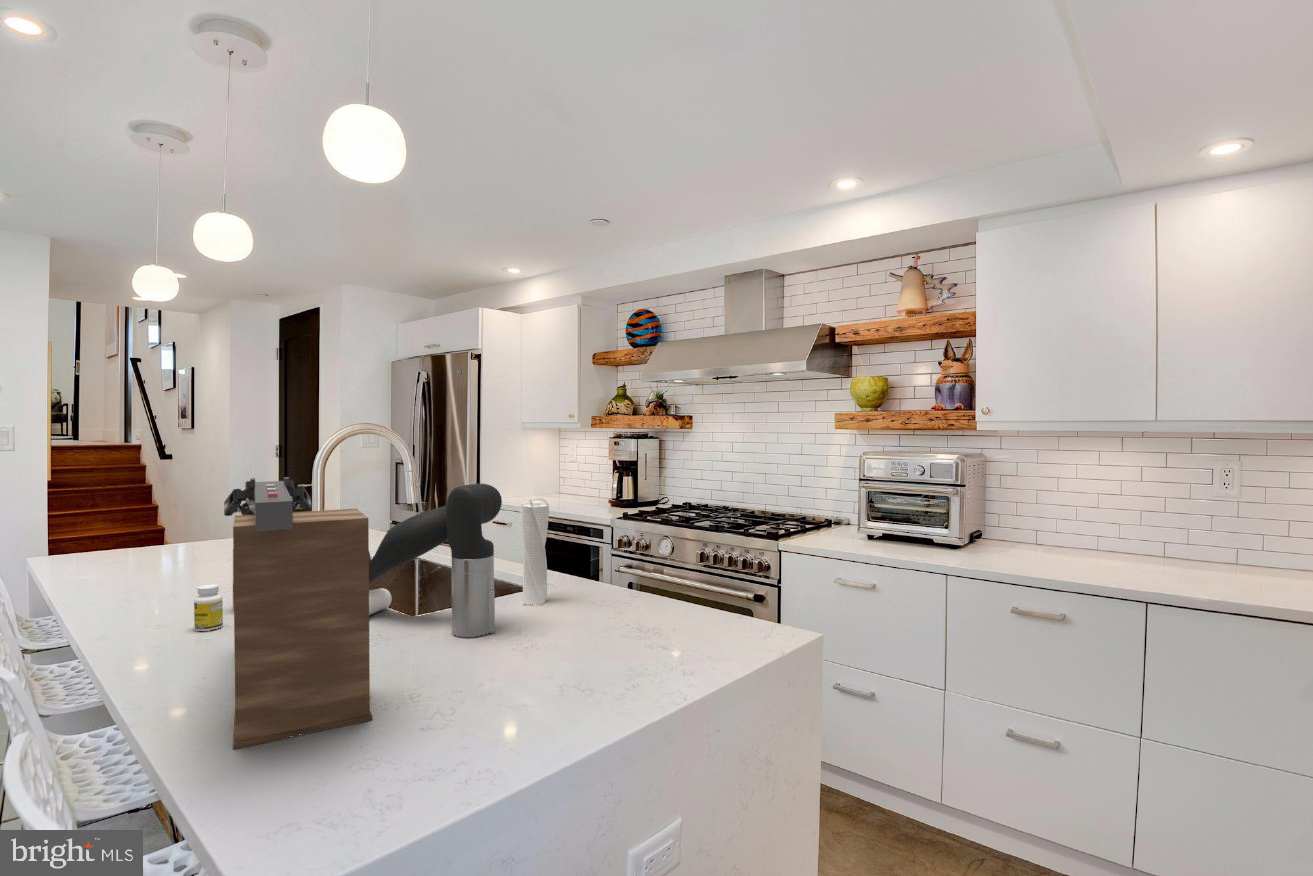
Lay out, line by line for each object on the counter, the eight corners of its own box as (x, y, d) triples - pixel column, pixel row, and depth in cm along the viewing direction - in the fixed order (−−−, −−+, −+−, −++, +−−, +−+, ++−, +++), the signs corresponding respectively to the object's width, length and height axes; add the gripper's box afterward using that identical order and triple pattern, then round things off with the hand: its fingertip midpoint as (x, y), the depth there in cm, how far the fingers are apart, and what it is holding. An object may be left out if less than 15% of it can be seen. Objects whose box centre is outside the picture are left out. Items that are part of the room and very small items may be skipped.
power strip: (254, 504, 119) (254, 479, 118) (283, 503, 121) (283, 478, 121) (255, 531, 93) (255, 499, 93) (292, 529, 95) (292, 497, 95)
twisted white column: (546, 607, 172) (546, 498, 172) (517, 606, 172) (517, 497, 172) (551, 599, 180) (551, 494, 180) (523, 598, 180) (523, 494, 180)
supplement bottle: (188, 630, 152) (188, 587, 152) (212, 624, 157) (212, 582, 157) (204, 633, 150) (204, 590, 150) (228, 626, 155) (227, 584, 155)
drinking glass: (384, 617, 170) (343, 631, 155) (367, 599, 172) (324, 611, 157) (399, 597, 169) (359, 609, 155) (382, 579, 171) (340, 589, 156)
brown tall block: (234, 712, 109) (232, 515, 108) (359, 689, 119) (357, 508, 118) (233, 749, 96) (230, 527, 96) (372, 720, 106) (370, 518, 106)
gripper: (312, 538, 127) (318, 500, 115) (222, 544, 120) (218, 505, 107) (310, 501, 131) (316, 461, 118) (222, 506, 123) (219, 463, 110)
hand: (269, 482), depth 113 cm, fingers closed on power strip, 4 cm apart
